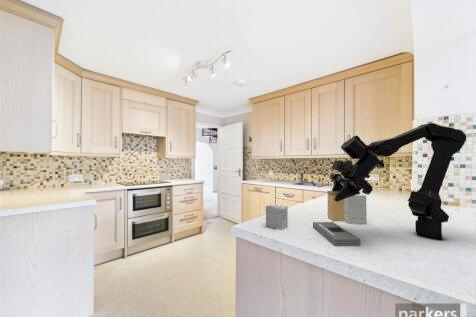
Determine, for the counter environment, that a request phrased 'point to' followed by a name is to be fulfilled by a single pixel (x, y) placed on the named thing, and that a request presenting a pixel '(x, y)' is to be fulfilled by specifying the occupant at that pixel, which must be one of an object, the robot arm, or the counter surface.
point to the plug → (335, 207)
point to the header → (336, 234)
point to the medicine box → (276, 216)
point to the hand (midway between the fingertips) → (332, 199)
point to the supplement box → (355, 209)
